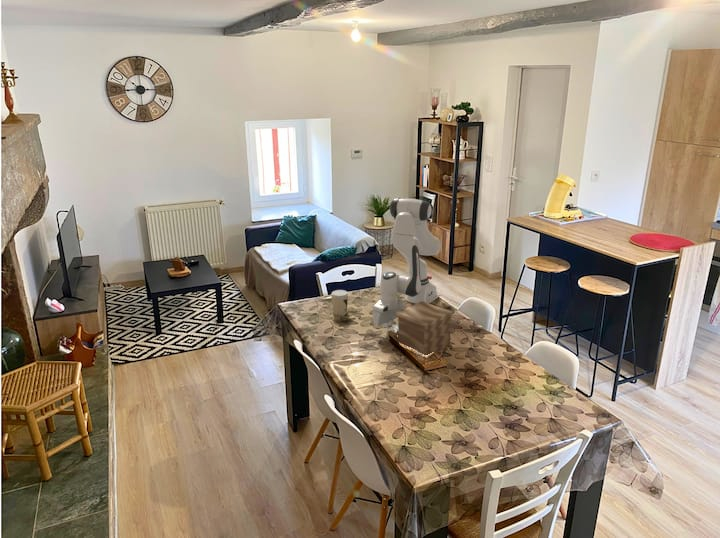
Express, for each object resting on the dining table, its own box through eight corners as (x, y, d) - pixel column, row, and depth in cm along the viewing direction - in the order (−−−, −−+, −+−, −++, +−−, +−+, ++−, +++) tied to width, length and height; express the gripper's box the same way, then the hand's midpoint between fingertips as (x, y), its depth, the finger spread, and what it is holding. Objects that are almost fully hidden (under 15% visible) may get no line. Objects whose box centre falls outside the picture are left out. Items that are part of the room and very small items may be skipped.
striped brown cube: (421, 333, 283) (421, 301, 277) (450, 345, 270) (452, 312, 264) (395, 345, 271) (396, 312, 265) (425, 358, 258) (426, 324, 252)
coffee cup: (348, 316, 305) (347, 296, 300) (331, 316, 305) (330, 296, 301) (348, 309, 313) (348, 289, 309) (332, 309, 314) (331, 289, 310)
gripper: (398, 296, 291) (397, 319, 296) (370, 307, 278) (370, 331, 282) (407, 299, 287) (406, 323, 291) (379, 310, 273) (379, 335, 278)
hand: (388, 327), depth 287 cm, fingers closed
